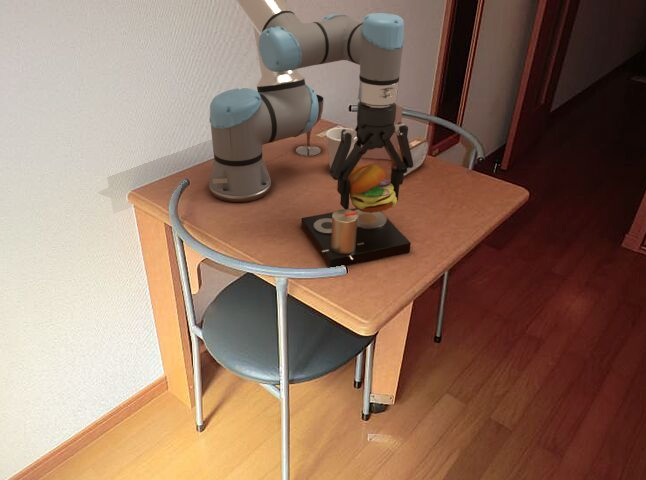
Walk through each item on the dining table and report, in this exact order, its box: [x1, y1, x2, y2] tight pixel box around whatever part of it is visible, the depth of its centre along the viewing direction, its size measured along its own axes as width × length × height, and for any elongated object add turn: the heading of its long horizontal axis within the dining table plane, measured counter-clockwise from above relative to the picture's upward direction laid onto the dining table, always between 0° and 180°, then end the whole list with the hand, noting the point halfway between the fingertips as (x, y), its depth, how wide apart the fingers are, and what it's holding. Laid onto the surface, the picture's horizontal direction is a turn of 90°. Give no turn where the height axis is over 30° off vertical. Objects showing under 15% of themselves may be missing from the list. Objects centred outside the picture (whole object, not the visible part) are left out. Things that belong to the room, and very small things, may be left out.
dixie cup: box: [325, 127, 357, 169], centre depth 145 cm, size 8×8×10 cm
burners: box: [314, 210, 388, 234], centre depth 120 cm, size 8×17×1 cm, turn 111°
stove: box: [300, 207, 411, 268], centre depth 118 cm, size 19×19×3 cm
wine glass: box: [295, 94, 324, 157], centre depth 153 cm, size 8×8×15 cm
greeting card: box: [357, 105, 404, 161], centre depth 150 cm, size 11×7×15 cm, turn 49°
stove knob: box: [331, 208, 358, 254], centre depth 110 cm, size 5×5×8 cm
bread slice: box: [390, 135, 430, 177], centre depth 146 cm, size 15×3×8 cm, turn 141°
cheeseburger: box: [347, 163, 398, 213], centre depth 117 cm, size 10×11×10 cm
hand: (369, 202), depth 119 cm, fingers closed on cheeseburger, 11 cm apart
